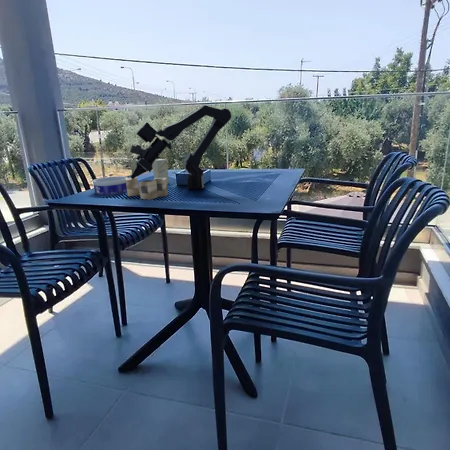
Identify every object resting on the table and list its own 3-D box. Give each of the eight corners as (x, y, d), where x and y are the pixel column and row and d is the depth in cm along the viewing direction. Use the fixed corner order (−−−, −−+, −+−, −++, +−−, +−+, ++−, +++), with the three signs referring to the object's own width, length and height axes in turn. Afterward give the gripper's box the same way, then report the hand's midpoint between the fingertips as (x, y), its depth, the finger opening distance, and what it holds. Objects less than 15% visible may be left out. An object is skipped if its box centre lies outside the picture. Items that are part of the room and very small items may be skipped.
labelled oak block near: (157, 196, 150) (156, 179, 148) (150, 199, 145) (148, 182, 143) (148, 196, 152) (146, 179, 150) (140, 198, 147) (138, 181, 145)
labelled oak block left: (168, 193, 155) (166, 177, 153) (165, 196, 150) (163, 179, 148) (156, 194, 155) (155, 177, 153) (153, 196, 150) (152, 179, 148)
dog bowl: (87, 194, 161) (85, 181, 160) (108, 188, 175) (107, 175, 173) (115, 195, 156) (113, 182, 154) (135, 188, 170) (133, 176, 168)
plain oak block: (139, 192, 159) (137, 177, 157) (139, 195, 155) (137, 179, 152) (127, 194, 158) (125, 178, 156) (127, 196, 153) (125, 180, 151)
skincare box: (160, 185, 174) (157, 160, 171) (154, 184, 177) (151, 160, 173) (169, 183, 179) (167, 158, 175) (163, 182, 182) (161, 158, 178)
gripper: (138, 136, 159) (116, 163, 159) (141, 138, 142) (116, 168, 142) (158, 153, 163) (136, 179, 164) (163, 157, 146) (138, 186, 147)
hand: (131, 177), depth 154 cm, fingers closed
